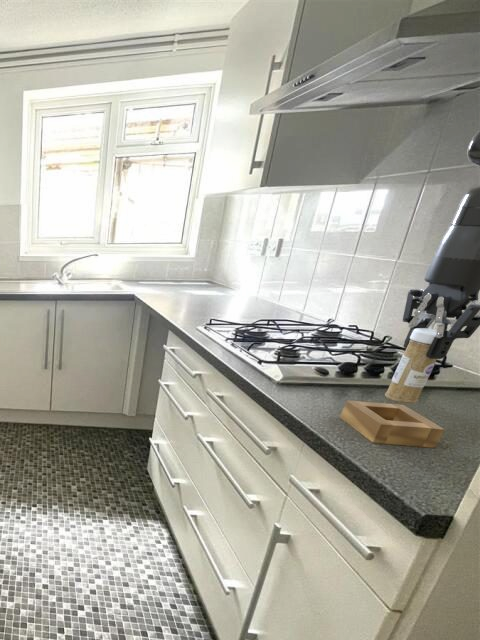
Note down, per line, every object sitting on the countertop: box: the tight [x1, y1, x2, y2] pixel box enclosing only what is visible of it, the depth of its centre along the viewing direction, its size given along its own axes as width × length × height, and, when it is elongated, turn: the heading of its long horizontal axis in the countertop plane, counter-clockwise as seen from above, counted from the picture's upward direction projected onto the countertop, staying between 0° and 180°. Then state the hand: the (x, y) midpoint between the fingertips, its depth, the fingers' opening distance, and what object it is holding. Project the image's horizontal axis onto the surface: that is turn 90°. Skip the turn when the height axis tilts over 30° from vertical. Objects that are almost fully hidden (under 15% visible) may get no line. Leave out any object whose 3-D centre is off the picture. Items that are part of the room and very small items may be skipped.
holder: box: [339, 400, 446, 449], centre depth 81 cm, size 10×10×4 cm
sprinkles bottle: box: [384, 328, 438, 405], centre depth 76 cm, size 5×5×13 cm
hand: (422, 352), depth 75 cm, fingers closed on sprinkles bottle, 4 cm apart
